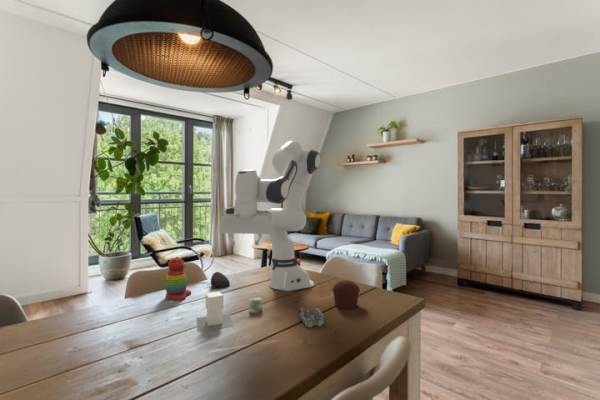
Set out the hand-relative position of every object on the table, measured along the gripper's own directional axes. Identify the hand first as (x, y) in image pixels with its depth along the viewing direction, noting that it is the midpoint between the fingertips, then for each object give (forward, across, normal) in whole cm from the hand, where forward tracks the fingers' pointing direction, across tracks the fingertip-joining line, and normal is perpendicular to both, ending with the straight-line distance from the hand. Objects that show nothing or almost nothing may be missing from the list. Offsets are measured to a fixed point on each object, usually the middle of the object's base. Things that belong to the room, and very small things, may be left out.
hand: (244, 244), depth 126 cm
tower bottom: (+26, +10, +11) cm, 30 cm away
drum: (+26, -5, +2) cm, 27 cm away
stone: (+26, +13, -35) cm, 46 cm away
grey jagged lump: (+26, -25, +14) cm, 39 cm away
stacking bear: (+27, +30, -21) cm, 46 cm away
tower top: (+21, +10, +11) cm, 26 cm away
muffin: (+25, -42, 0) cm, 49 cm away
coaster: (+27, +10, +11) cm, 31 cm away
